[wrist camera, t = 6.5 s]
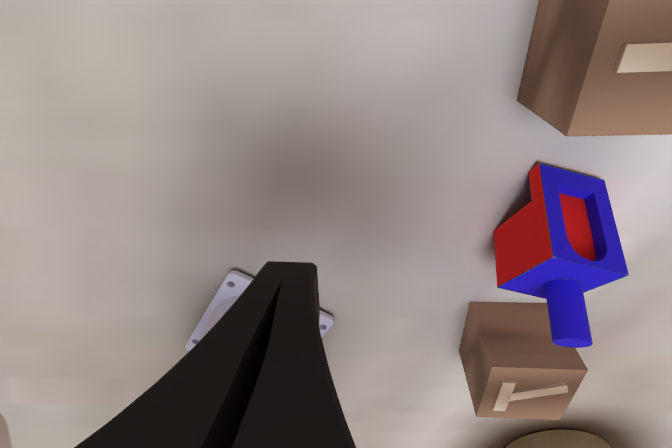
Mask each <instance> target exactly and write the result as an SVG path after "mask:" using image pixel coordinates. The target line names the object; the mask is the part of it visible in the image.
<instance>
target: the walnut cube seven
mask: <svg viewBox="0 0 672 448" xmlns="http://www.w3.org/2000/svg"><path fill="white" fill-rule="evenodd" d="M459 353H460V356H461V360H462V364H463V368H464V372H465V376H466V379H467V383H468V387H469V391H470V395H471V398H472V402H473V406H474V410H475V414H476V417H495V418H519V419H542V420H560V419H561V418H562V416H563V414H564V412H565V410H566V409H567V407H568V405H569V403H570V401H571V400H572V398H573V396H574V394H575V392H576V391H577V389H578V387H579V385H580V383H581V382H582V380H583V378H584V376H585V374H586V373H587V371H588V369H587V368H586V366H585V364H584V363H583V361H582V359H581V357H580V356H579V354H578V352H577V351H576V349H575V348H572V347H562V346H557V345H555V344H553V343H552V337H551V329H550V321H549V314H548V306H547V303H513V302H470V304H469V309H468V313H467V317H466V322H465V326H464V331H463V335H462V339H461V344H460V348H459Z"/></svg>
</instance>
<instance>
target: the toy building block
mask: <svg viewBox="0 0 672 448" xmlns="http://www.w3.org/2000/svg"><path fill="white" fill-rule="evenodd" d="M528 174H529V182H530V190H531V197H532V201H530V202H529V203H528V204H527V205H525V206H524V207H523V208H522V209H520V210H519V211H518V212H517V213H515V214H514V215H513V216H512V217H510V218H509V219H508V220H507V221H505V222H504V223H503V224H502V225H500V226H499V227H498V228H497V229H495V230H494V242H495V258H496V274H497V288H502V289H506V290H510V291H515V292H519V293H523V294H528V295H532V296H536V297H541V298H545V299H547V306H548V314H549V321H550V329H551V337H552V343H553V344H555V345H557V346H562V347H572V348H579V347H588V346H591V345H592V344H593V343H592V338H591V333H590V327H589V322H588V316H587V311H586V306H585V300H584V295H583V293H584V292H586V291H589V290H592V289H594V288H597V287H599V286H602V285H605V284H607V283H610V282H612V281H615V280H618V279H620V278H623V277H625V276H628V275H629V274H628V270H627V266H626V263H625V259H624V255H623V251H622V247H621V243H620V239H619V235H618V232H617V228H616V224H615V220H614V216H613V212H612V208H611V204H610V200H609V197H608V193H607V189H606V185H605V181H604V180H602V179H599V178H595V177H591V176H587V175H583V174H579V173H576V172H572V171H568V170H564V169H560V168H557V167H553V166H549V165H545V164H541V163H538V164H537V165H536V166H535V167H534V168H533V169H532V170H531V171H530V172H528Z"/></svg>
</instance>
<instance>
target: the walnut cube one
mask: <svg viewBox="0 0 672 448" xmlns="http://www.w3.org/2000/svg"><path fill="white" fill-rule="evenodd" d="M517 101H518V102H520V103H521V104H523V105H524V106H525V107H527V108H528V109H530V110H531V111H532V112H534V113H535V114H536V115H538V116H539V117H541V118H542V119H543V120H545V121H546V122H548V123H549V124H550V125H552V126H553V127H554V128H556V129H557V130H559V131H560V132H561V133H563V134H564V135H565V136H612V135H663V134H672V0H539V3H538V8H537V12H536V17H535V21H534V25H533V30H532V34H531V39H530V43H529V48H528V52H527V57H526V61H525V66H524V70H523V74H522V79H521V83H520V88H519V92H518V97H517Z"/></svg>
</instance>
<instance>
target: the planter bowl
mask: <svg viewBox="0 0 672 448" xmlns="http://www.w3.org/2000/svg"><path fill="white" fill-rule="evenodd" d="M505 448H611V447H610V445H609V444H608V443H607V442H606V441H605V440H604V439H602V438H600V437H598V436H596V435H594V434H591V433H588V432H584V431H578V430H565V429H560V430H547V431H541V432H536V433H532V434H528V435H526V436H522V437H520V438H518V439H516V440H514V441H513V442H511V443H510V444H509V445H507V446H506V447H505Z"/></svg>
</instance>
